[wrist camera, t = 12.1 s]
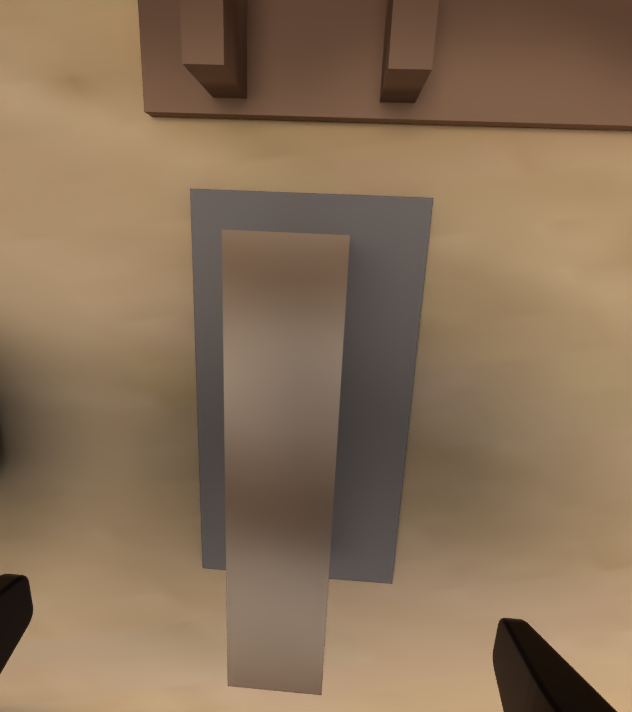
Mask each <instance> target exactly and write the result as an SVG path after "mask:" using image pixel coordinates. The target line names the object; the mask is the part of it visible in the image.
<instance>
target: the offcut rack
mask: <svg viewBox="0 0 632 712" xmlns="http://www.w3.org/2000/svg"><path fill="white" fill-rule="evenodd" d="M138 9H139V26H140V44H141V62H142V79H143V97H144V112H146V113H147V114H149V115H150V116H156V117H190V118H224V119H258V120H292V121H326V122H360V123H394V124H428V125H461V126H495V127H529V128H563V129H597V130H631V131H632V0H138Z"/></svg>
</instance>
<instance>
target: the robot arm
mask: <svg viewBox="0 0 632 712" xmlns="http://www.w3.org/2000/svg"><path fill="white" fill-rule="evenodd" d="M32 614H33V604H32V598H31V592H30V585H29V580H28V578H27V577H26V576H24V575H16V574H3V575H1V576H0V674H1V672H2V670H3V668H4V667H5V665H6V663H7V661H8V660H9V658H10V656H11V654H12V653H13V651H14V649H15V648H16V646H17V644H18V642H19V641H20V639H21V637H22V635H23V634H24V632H25V630H26V628H27V627H28V625H29V623H30V621H31V618H32ZM493 666H494V671H495V675H496V680H497V684H498V688H499V693H500V697H501V702H502V706H503V711H504V712H617V711H616V710H615V709H614V708H613V707H612V706H611V705H610V704H609V703H608V702H607V701H606V700H605V699H604V698H603V697H602V696H601V695H600V694H599V693H598V692H597V691H596V690H595V689H594V688H593V687H592V686H591V685H590V684H589V683H588V682H587V681H586V680H585V679H584V678H583V677H582V676H581V675H580V674H579V673H578V672H576V671H575V670H574V669H573V668H572V667H571V666H570V665H569V664H568V663H567V662H566V661H565V660H564V659H563V658H562V657H561V656H560V655H559V654H558V653H557V652H556V651H555V650H554V649H553V648H552V647H551V646H550V645H549V644H548V643H547V642H546V641H545V640H544V639H543V638H542V637H541V636H540V635H539V634H538V633H537V632H536V631H535V630H534V629H533V628H532V627H531V626H530V625H529V624H528V623H527V622H525V621H524V620H521V619H512V618H502V619H500V621H499V623H498V628H497V633H496V638H495V643H494V649H493Z"/></svg>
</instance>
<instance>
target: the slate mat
mask: <svg viewBox="0 0 632 712" xmlns="http://www.w3.org/2000/svg"><path fill="white" fill-rule="evenodd" d="M190 200H191V231H192V261H193V292H194V322H195V352H196V383H197V413H198V444H199V474H200V504H201V535H202V565H203V568H207V569H219V570H226V518H225V442H224V366H223V290H222V230H244V231H266V232H288V233H311V234H333V235H350V244H349V260H348V276H347V292H346V308H345V324H344V340H343V356H342V372H341V388H340V405H339V421H338V437H337V453H336V469H335V485H334V501H333V517H332V533H331V549H330V565H329V579H340V580H352V581H364V582H377V583H389V584H392V580H393V571H394V562H395V552H396V543H397V534H398V524H399V515H400V505H401V496H402V487H403V477H404V468H405V458H406V449H407V440H408V430H409V421H410V412H411V402H412V393H413V383H414V374H415V365H416V355H417V346H418V337H419V327H420V318H421V308H422V299H423V290H424V280H425V271H426V261H427V252H428V243H429V233H430V224H431V215H432V205H433V198H422V197H395V196H369V195H342V194H316V193H290V192H263V191H237V190H210V189H190Z"/></svg>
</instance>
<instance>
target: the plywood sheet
mask: <svg viewBox="0 0 632 712" xmlns="http://www.w3.org/2000/svg"><path fill="white" fill-rule="evenodd" d="M349 244H350V235H333V234H311V233H288V232H266V231H244V230H222V290H223V366H224V442H225V518H226V595H227V671H228V686H233V687H243V688H253V689H264V690H274V691H284V692H294V693H305V694H315V695H321V694H322V678H323V662H324V646H325V630H326V614H327V598H328V581H329V565H330V549H331V533H332V517H333V501H334V485H335V469H336V453H337V437H338V421H339V405H340V388H341V372H342V356H343V340H344V324H345V308H346V292H347V276H348V260H349Z"/></svg>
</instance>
